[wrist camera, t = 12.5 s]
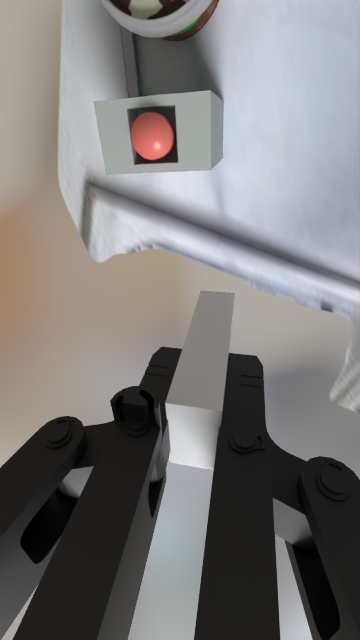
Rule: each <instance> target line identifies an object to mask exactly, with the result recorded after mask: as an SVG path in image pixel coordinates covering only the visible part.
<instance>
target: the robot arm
mask: <svg viewBox="0 0 360 640" xmlns="http://www.w3.org/2000/svg"><path fill="white" fill-rule="evenodd" d="M234 296H235V293H226V292H211V291H201V292H200V295H199V299H198V302H197V305H196V308H195V311H194V314H193V317H192V321H191V324H190V327H189V330H188V333H187V336H186V340H185V343H184V346H183V349H178V348H169V347H161V348H160V349H159V350H158V351H157V352H156V353H154V354H153V356H152V358H151V360H150V362H149V366H148V367H147V369H146V371H145V375H144V376H143V378H142V381H141V383H140V385H139V386H132V387H128V388H125V389H123V390H121V391H120V392H118V393H116V394H115V395H114V397H113V398H112V399H111V406H112V411H113V415H114V421H112V422H108V423H104V424H98V425H90V426H83V424H82V422H81V421H80V420H78V419H77V418H75V417H70V416H64V417H58V418H56V419H53V420H51V421H49V422H48V423H46V424H45V425H44V426H42V427H41V428H40V429H39V430H38V431H37V432H36V433H35V434H34V435H33V436H32V437H31V438H30V439H29V440H28V441H27V442H26V443H25V444H24V445H23V446H22V447H21V448H20V449H19V450H18V451H17V452H16V453H15V454H14V455H13V456H12V457H11V458H10V459H9V460H8V461H7V462H6V463H5V464H4V465H3V466H2V467H1V468H0V640H1V639H2V637H3V636H4V635H5V633H6V631H7V630H8V628H9V627H10V626H11V624H12V623H13V621H14V619H15V618H16V617H17V615H18V614H19V612H20V611H21V609H22V608H23V606H24V605H25V603H26V602H27V600H28V599H29V597H30V596H31V594H32V593H33V591H34V590H35V588H36V587H37V585H38V584H39V585H38V587H37V589H36V591H35V593H34V595H33V598H32V600H31V602H30V604H29V606H28V608H27V610H26V612H25V615H24V617H23V619H22V621H21V623H20V625H19V627H18V629H17V632H16V634H15V636H14V638H13V640H127V639H128V635H129V631H130V627H131V623H132V619H133V615H134V611H135V606H136V602H137V598H138V594H139V590H140V586H141V582H142V578H143V574H144V569H145V565H146V561H147V557H148V553H149V549H150V545H151V541H152V537H153V533H154V528H155V524H156V520H157V516H158V512H159V508H160V503H161V499H162V495H163V491H164V487H165V483H166V466H167V462H168V458H169V455H170V462H172V463H177V464H182V465H188V466H194V467H199V468H204V469H210V470H214V472H213V482H212V489H211V498H210V507H209V516H208V524H207V533H206V541H205V551H204V559H203V567H202V576H201V584H200V593H199V602H198V610H197V619H196V627H195V636H194V640H280V626H279V607H278V588H277V569H276V552H275V534H276V535H278V536H279V537H281V538H283V539H284V540H285V544H286V547H287V551H288V554H289V558H290V561H291V565H292V568H293V572H294V575H295V579H296V582H297V586H298V589H299V593H300V596H301V600H302V604H303V607H304V610H305V614H306V617H307V621H308V625H309V628H310V632H311V635H312V639H313V640H360V480H359V478H358V477H357V476H356V474H355V473H354V472H353V471H352V470H351V469H350V468H348V467H347V466H346V465H345V464H343V463H341V462H339V461H337V460H335V459H332V458H328V457H321V456H319V457H315V458H311V459H310V460H308V461H304V460H302V459H300V458H298V457H296V456H294V455H292V454H289V453H288V452H286V451H284V450H283V449H281V448H280V447H279V446H277V445H276V444H275V443H274V442H273V440H272V439H271V438H270V436H269V434H268V432H267V429H266V422H265V401H264V380H263V366H262V364H261V362H260V361H259V359H258V358H257V356H252V355H242V354H233V353H230V344H231V332H232V319H233V308H234Z"/></svg>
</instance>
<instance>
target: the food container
mask: <svg viewBox="0 0 360 640" xmlns="http://www.w3.org/2000/svg"><path fill="white" fill-rule="evenodd" d="M100 1H101V3H102V5H103V6H104V7H105V8H106V10H107V11H108V12H109V14H110V15H111V16H112V17H113V18H114V19H115V20H116V21H117V22H118V23H119V24H120V25H122V26H123V27H125V28H126V29H128V30H129V31H131V32H133V33H136V34H138V35H140V36H145V37H150V38H158V37H161V38H163V39H165V40H170V41H180V40H184V39H187V38H189V37H191V36H193V35H194V34H195V33H197V32H198V31H199V30H200V29H201V28H202V27H203V26H204V25H205V24H206V23H207V21H208V20H209V19H210V17H211V16H212V14H213V12H214V10H215V8H216V7H217V4H218V2H219V0H100Z"/></svg>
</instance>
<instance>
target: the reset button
mask: <svg viewBox="0 0 360 640" xmlns="http://www.w3.org/2000/svg"><path fill="white" fill-rule="evenodd" d="M131 138H132V143H133V146H134V148H135V150H136V151H137V152H138V153H139V154H140V155H141V156H142V157H144V158H146V159H150V160H154V159H158V158H161V157H164V156H166V155H168V154H169V153H170V152H171V151H172V149H173V148H174V146H175V142H176V130H175V127H174V125H173V123H172V121H171V120H170V119H169V118H168V117H167V116H165V115H163V114H160V113H153V112H146V113H143V114H141V115H140V116H138V117H137V119H136V120H135V122H134V123H133V126H132V131H131Z"/></svg>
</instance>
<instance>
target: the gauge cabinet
mask: <svg viewBox="0 0 360 640" xmlns="http://www.w3.org/2000/svg"><path fill="white" fill-rule="evenodd" d="M223 105H224V101H223V100H221V99H220V98H219V97H218V96H217V95H216V94H215V93H213V92H212V91H211V90H207V91H197V92H187V93H166V94H156V95H146V96H141V97H135V98H125V99H115V100H105V101H94V107H95V113H96V119H97V124H98V130H99V136H100V141H101V147H102V153H103V158H104V164H105V170H106V174H129V173H154V172H178V171H202V170H211V169H212V168H213V167H214V166H215V165H216V164H217V163H218V162H219V161H220V160H221V159H222V158H223ZM146 112H153V113H160V114H163V115H165V116H167V117H168V118H169V119H170V120H171V121H172V123H173V125H174V127H175V130H176V142H175V146H174V148H173V149H172V151H171V152H170V153H169V154H168V155H166V156H164V157H161V158H158V159H154V160H150V159H146V158H144V157H142V156H141V155H140V154H139V153H138V152H137V151H136V150H135V148H134V146H133V143H132V138H131V131H132V126H133V123H134V122H135V120H136V119H137V117H138V116H140V115H141V114H143V113H146Z"/></svg>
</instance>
